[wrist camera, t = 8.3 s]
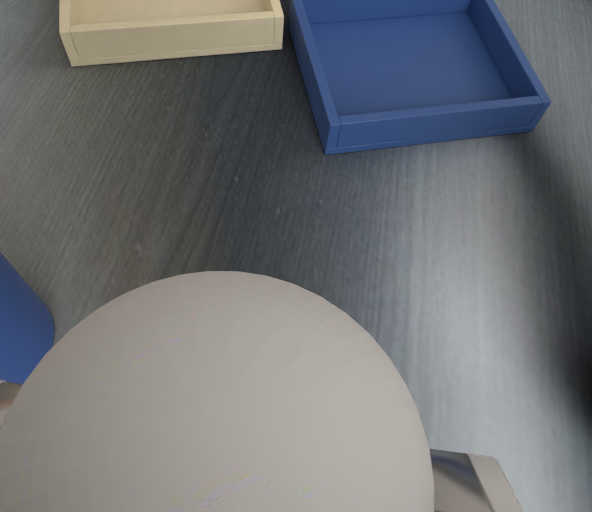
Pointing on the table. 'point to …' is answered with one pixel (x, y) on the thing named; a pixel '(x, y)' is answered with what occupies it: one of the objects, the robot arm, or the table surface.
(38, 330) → the blue pillar
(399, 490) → the light bulb
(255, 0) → the cream tray
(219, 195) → the table surface
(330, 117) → the blue tray
